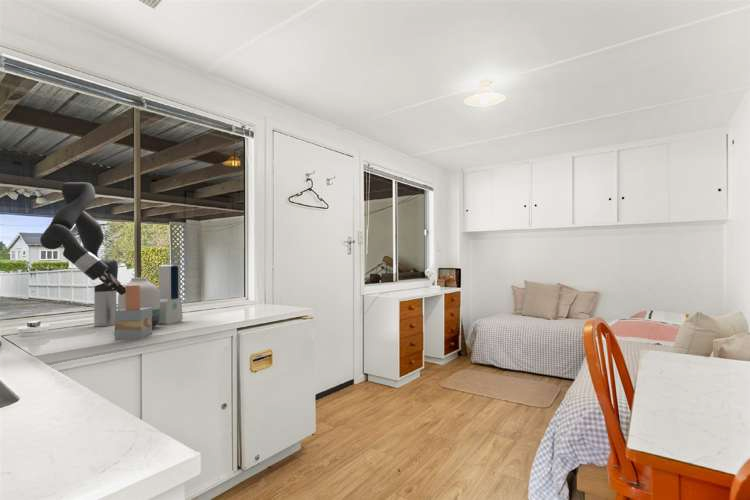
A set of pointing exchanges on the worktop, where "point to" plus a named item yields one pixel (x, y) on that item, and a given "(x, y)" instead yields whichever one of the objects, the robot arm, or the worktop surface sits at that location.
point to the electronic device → (169, 294)
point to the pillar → (132, 297)
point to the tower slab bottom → (133, 333)
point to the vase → (145, 298)
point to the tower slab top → (133, 314)
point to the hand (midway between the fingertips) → (125, 292)
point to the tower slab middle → (133, 324)
